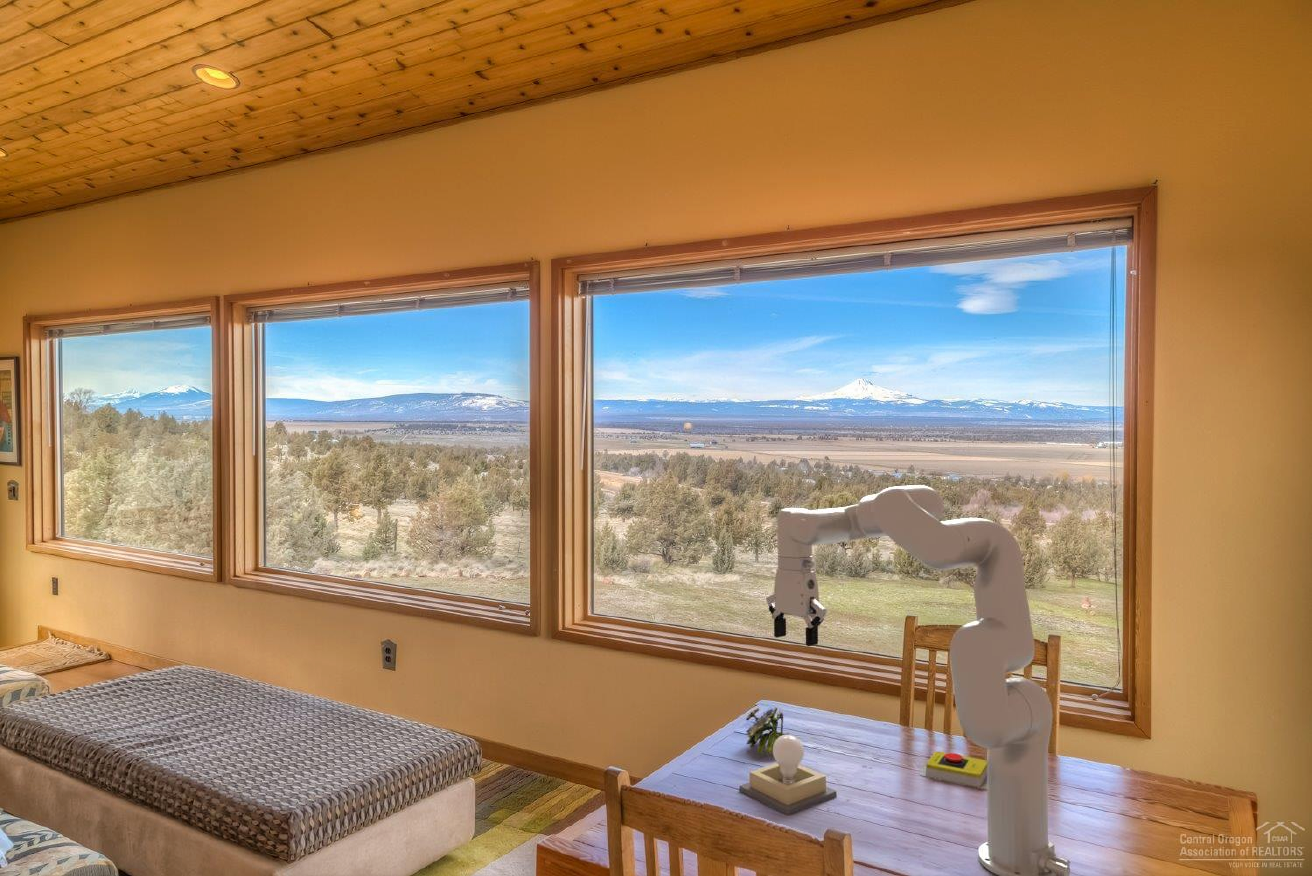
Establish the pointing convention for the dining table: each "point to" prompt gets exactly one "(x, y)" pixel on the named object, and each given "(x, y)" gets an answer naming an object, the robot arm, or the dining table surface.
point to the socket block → (787, 788)
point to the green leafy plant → (761, 726)
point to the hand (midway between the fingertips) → (795, 640)
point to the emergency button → (957, 769)
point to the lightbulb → (788, 756)
